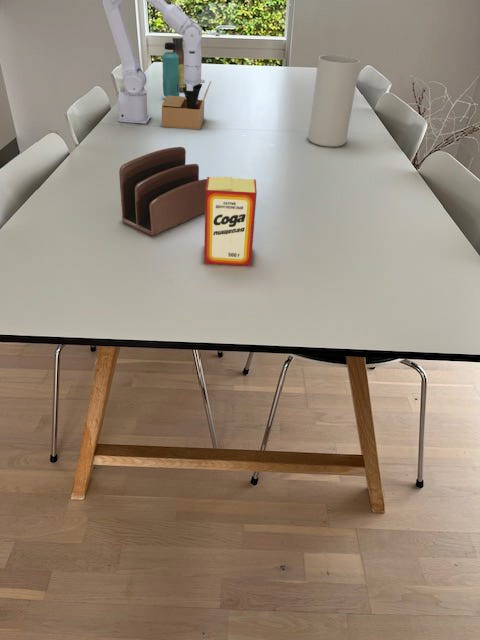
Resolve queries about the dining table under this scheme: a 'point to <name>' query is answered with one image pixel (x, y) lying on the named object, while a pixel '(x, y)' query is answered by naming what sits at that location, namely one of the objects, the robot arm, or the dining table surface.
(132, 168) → the letter holder
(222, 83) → the dining table surface
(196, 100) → the spice jar
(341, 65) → the cylinder vase
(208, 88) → the flap
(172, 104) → the carton
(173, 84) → the beverage bottle
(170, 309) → the dining table surface
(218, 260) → the baking soda box
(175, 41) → the sauce bottle
